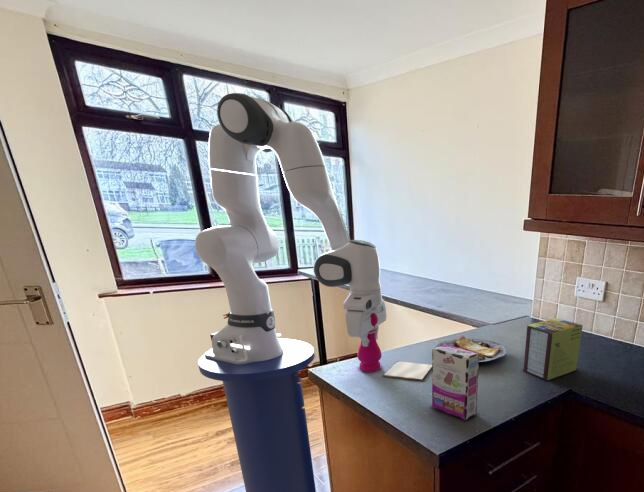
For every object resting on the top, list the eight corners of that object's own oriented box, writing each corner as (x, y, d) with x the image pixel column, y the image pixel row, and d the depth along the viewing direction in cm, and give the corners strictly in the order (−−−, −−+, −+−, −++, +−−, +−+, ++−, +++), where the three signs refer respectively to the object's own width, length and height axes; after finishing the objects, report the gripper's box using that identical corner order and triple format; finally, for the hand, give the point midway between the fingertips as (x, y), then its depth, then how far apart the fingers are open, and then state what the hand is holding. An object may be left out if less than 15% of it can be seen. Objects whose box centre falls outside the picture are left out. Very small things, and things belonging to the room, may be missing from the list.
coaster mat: (383, 376, 122) (383, 374, 122) (397, 362, 133) (397, 361, 133) (422, 380, 120) (422, 379, 120) (433, 366, 131) (433, 364, 131)
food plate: (421, 353, 142) (421, 343, 141) (467, 339, 159) (467, 331, 157) (473, 373, 127) (473, 363, 126) (518, 356, 143) (519, 347, 142)
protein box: (577, 370, 134) (583, 324, 128) (547, 381, 124) (552, 332, 118) (552, 360, 141) (557, 317, 135) (522, 370, 131) (526, 324, 125)
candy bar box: (477, 413, 103) (480, 353, 97) (465, 421, 99) (468, 358, 93) (443, 401, 109) (444, 343, 102) (431, 407, 105) (431, 347, 99)
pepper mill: (370, 362, 132) (367, 301, 124) (386, 367, 129) (384, 305, 121) (353, 368, 126) (348, 306, 119) (370, 374, 123) (366, 310, 115)
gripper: (371, 290, 129) (374, 332, 134) (339, 304, 110) (344, 352, 115) (390, 292, 128) (392, 333, 133) (361, 306, 109) (365, 354, 114)
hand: (370, 342), depth 124 cm, fingers closed on pepper mill, 4 cm apart
